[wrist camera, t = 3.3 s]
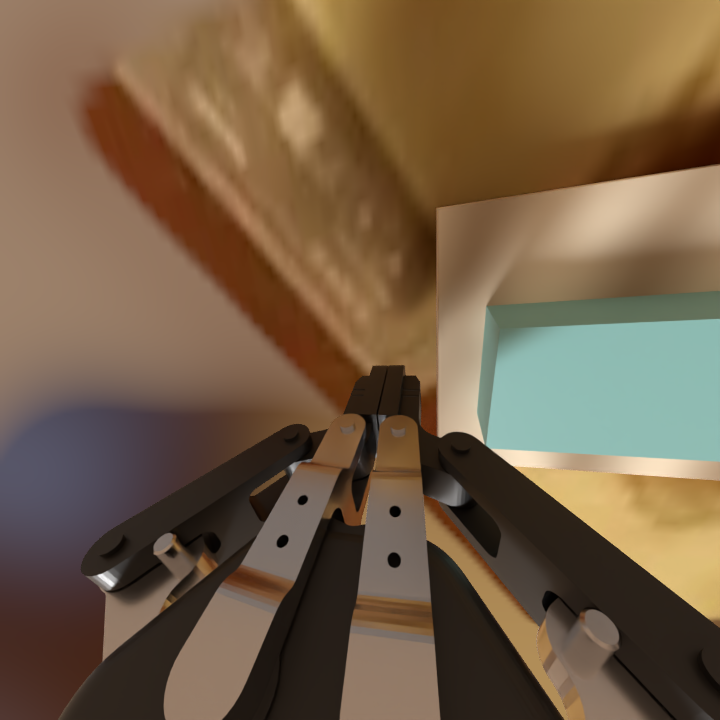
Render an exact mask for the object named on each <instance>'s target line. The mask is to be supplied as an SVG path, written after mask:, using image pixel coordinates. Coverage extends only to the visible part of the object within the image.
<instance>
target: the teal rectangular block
mask: <svg viewBox="0 0 720 720" xmlns="http://www.w3.org/2000/svg"><path fill="white" fill-rule="evenodd" d="M477 415H478V419H479V424H480V428H481V432H482V436H483V440H484V444H485V445H486V446H487V447H489V448H490V449H505V450H522V451H540V452H558V453H575V454H593V455H610V456H628V457H646V458H663V459H681V460H698V461H716V462H720V291H709V292H694V293H678V294H663V295H648V296H632V297H617V298H602V299H586V300H571V301H555V302H540V303H525V304H509V305H494V306H486V315H485V326H484V337H483V349H482V360H481V371H480V382H479V394H478V405H477Z"/></svg>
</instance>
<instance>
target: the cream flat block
mask: <svg viewBox="0 0 720 720" xmlns="http://www.w3.org/2000/svg"><path fill="white" fill-rule="evenodd" d="M709 291H720V164H715V165H709V166H702V167H696V168H689V169H683V170H676V171H670V172H664V173H657V174H651V175H644V176H638V177H632V178H625V179H619V180H612V181H606V182H599V183H593V184H587V185H580V186H574V187H567V188H561V189H554V190H548V191H542V192H535V193H529V194H522V195H516V196H509V197H503V198H497V199H490V200H484V201H477V202H471V203H464V204H458V205H452V206H445V207H439V208H436V321H437V437H440V438H441V437H443V436H444V435H445V434H447V433H451V432H464V433H468V434H470V435H472V436H474V437H476V438H477V439H478V440H480V441H481V442H482V443H483V444H484V440H483V436H482V432H481V428H480V424H479V419H478V415H477V405H478V394H479V382H480V371H481V360H482V349H483V337H484V326H485V315H486V306H494V305H509V304H525V303H540V302H555V301H571V300H586V299H602V298H617V297H632V296H648V295H663V294H678V293H694V292H709ZM491 450H492V451H494V452H495V453H496V454H497V455H499V456H500V457H501V458H503V459H504V460H505V461H506V462H508V463H509V464H510V465H512V466H521V467H535V468H549V469H564V470H578V471H592V472H606V473H621V474H635V475H649V476H663V477H677V478H692V479H706V480H720V462H716V461H698V460H681V459H663V458H646V457H628V456H610V455H593V454H575V453H558V452H540V451H522V450H505V449H491Z"/></svg>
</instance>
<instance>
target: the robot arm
mask: <svg viewBox="0 0 720 720" xmlns="http://www.w3.org/2000/svg"><path fill="white" fill-rule="evenodd" d="M375 458H376V468H375V470H373V466H374V461H375ZM282 470H284V471H285V473H286V475H285V476H283V477H282V478H280V479H279V480H277V481H276V482H275V483H273V484H272V485H270V486H269V487H267V488H266V489H264V490H263V491H261V492H260V493H258V494H257V495H255V496H250V494H251V493H252V491H253V490H254V489H255V488H257V487H259V486H260V485H262V484H263V483H265V482H266V481H268V480H269V479H270V478H272V477H274V476H275V475H277V474H278V473H279V472H281V471H282ZM368 493H369V499H368V507H367V517H366V524H365V525H361V519H362V515H363V511H364V508H365V504H366V501H367V497H368ZM423 494H424V495H426V496H429V497H431V498H433V499H436V500H438V501H439V504H440V506H441V507H442V509H443V510H444V511H445V513H446V514H447V515H448V516H449V518H450V519H451V520H452V521H453V522H454V524H455V525H456V526H457V527H458V528H459V530H460V531H461V532H462V533H463V535H464V536H465V537H466V538H467V539H468V541H469V542H470V543H471V544H472V546H473V547H474V548H475V549H476V550H477V552H478V553H479V554H480V555H481V556H482V558H483V559H484V560H485V561H486V563H487V564H488V565H489V566H490V567H491V569H492V570H493V571H494V572H495V574H496V575H497V576H498V577H499V578H500V580H501V581H502V582H503V583H504V584H505V586H506V587H507V588H508V589H509V591H510V592H511V593H512V594H513V595H514V597H515V598H516V599H517V600H518V602H519V603H520V604H521V605H522V606H523V608H524V609H525V610H526V611H527V612H528V614H529V615H530V616H531V617H532V619H533V620H534V621H535V622H536V623H537V625H538V626H539V630H538V633H537V649H538V654H539V658H540V660H541V663H542V665H543V668H544V670H545V672H546V674H547V675H548V677H549V678H550V680H551V681H552V683H553V685H554V686H555V688H556V690H557V691H558V693H559V695H560V697H561V699H562V701H563V704H564V707H565V709H566V712H567V716H568V719H569V720H720V628H719V627H718V626H716V625H715V624H714V623H713V622H711V621H710V620H709V619H707V618H706V617H705V616H704V615H702V614H701V613H700V612H698V611H697V610H696V609H695V608H693V607H692V606H691V605H689V604H688V603H687V602H686V601H684V600H683V599H682V598H681V597H679V596H678V595H677V594H675V593H674V592H673V591H672V590H670V589H669V588H668V587H666V586H665V585H664V584H663V583H661V582H660V581H659V580H657V579H656V578H655V577H654V576H652V575H651V574H650V573H649V572H647V571H646V570H645V569H643V568H642V567H641V566H640V565H638V564H637V563H636V562H634V561H633V560H632V559H631V558H629V557H628V556H627V555H625V554H624V553H623V552H622V551H620V550H619V549H618V548H617V547H615V546H614V545H613V544H611V543H610V542H609V541H608V540H606V539H605V538H604V537H602V536H601V535H600V534H599V533H597V532H596V531H595V530H593V529H592V528H591V527H590V526H588V525H587V524H586V523H585V522H583V521H582V520H581V519H579V518H578V517H577V516H576V515H574V514H573V513H572V512H570V511H569V510H568V509H567V508H565V507H564V506H563V505H561V504H560V503H559V502H558V501H556V500H555V499H554V498H553V497H551V496H550V495H549V494H547V493H546V492H545V491H544V490H542V489H541V488H540V487H538V486H537V485H536V484H535V483H533V482H532V481H531V480H529V479H528V478H527V477H526V476H524V475H523V474H522V473H521V472H519V471H518V470H517V469H515V468H514V467H513V466H512V465H510V464H509V463H508V462H506V461H505V460H504V459H503V458H501V457H500V456H499V455H497V454H496V453H495V452H494V451H492V450H491V449H490V448H489V447H487V446H486V445H485V444H483V443H482V442H481V441H480V440H478V439H477V438H476V437H474V436H472V435H470V434H468V433H464V432H451V433H447V434H445V435H444V436H443V437H441V438H440V437H437V436H434V435H431V434H429V433H428V432H426V431H425V430H424V429H423V428H422V427H421V393H420V381H419V380H418V378H417V377H416V376H406V375H405V366H404V365H390V366H373V367H372V370H371V373H370V376H362V377H361V378H360V379H359V380H358V381H356V383H355V386H354V388H353V391H352V393H351V396H350V399H349V401H348V404H347V406H346V409H345V411H344V414H343V415H341V416H339V417H337V418H336V419H335V420H334V421H333V422H332V423H331V425H330V427H329V429H326V430H323V431H318V432H313V433H310V431H309V429H308V428H307V427H306V426H305V425H302V424H294V425H290V426H287V427H285V428H283V429H281V430H280V431H278V432H276V433H274V434H273V435H271V436H270V437H268V438H266V439H264V440H263V441H261V442H259V443H258V444H256V445H254V446H253V447H251V448H249V449H247V450H246V451H244V452H242V453H241V454H239V455H237V456H236V457H234V458H232V459H230V460H229V461H227V462H225V463H224V464H222V465H220V466H218V467H217V468H215V469H213V470H212V471H210V472H208V473H206V474H205V475H203V476H201V477H200V478H198V479H196V480H195V481H193V482H191V483H189V484H188V485H186V486H184V487H183V488H181V489H179V490H178V491H176V492H174V493H172V494H171V495H169V496H167V497H166V498H164V499H162V500H160V501H159V502H157V503H155V504H154V505H152V506H150V507H149V508H147V509H145V510H144V511H142V512H140V513H139V514H137V515H135V516H133V517H132V518H130V519H128V520H126V521H125V522H123V523H121V524H120V525H118V526H116V527H115V528H113V529H111V530H110V531H108V532H107V533H106V534H104V535H103V536H102V537H101V538H100V539H99V540H98V541H97V542H96V543H95V544H94V545H93V546H92V547H91V548H90V550H89V551H88V552H87V554H86V555H85V557H84V559H83V561H82V565H81V572H82V573H83V574H84V575H85V576H86V577H88V578H89V579H90V580H92V581H93V582H94V583H95V584H97V585H98V586H99V587H100V589H101V590H102V591H103V592H104V593H105V594H106V608H105V628H104V646H103V662H102V663H101V664H100V665H99V666H98V667H97V668H96V669H95V670H94V671H93V672H92V674H91V675H90V676H89V677H88V678H87V679H86V680H85V682H84V683H83V684H82V686H81V687H80V688H79V689H78V691H77V692H76V693H75V695H74V696H73V698H72V699H71V700H70V702H69V703H68V705H67V706H66V708H65V709H64V711H63V713H62V715H61V716H60V718H59V719H58V720H564V719H563V717H562V716H561V714H560V713H559V712H558V710H557V708H556V707H555V706H554V704H553V703H552V701H551V700H550V698H549V697H548V695H547V694H546V692H545V691H544V689H543V688H542V687H541V685H540V684H539V682H538V681H537V679H536V678H535V676H534V675H533V674H532V672H531V671H530V669H529V668H528V666H527V665H526V663H525V662H524V660H523V659H522V657H521V656H520V655H519V653H518V652H517V650H516V649H515V647H514V646H513V644H512V643H511V641H510V640H509V638H508V637H507V636H506V634H505V633H504V631H503V630H502V628H501V627H500V625H499V624H498V623H497V621H496V620H495V618H494V617H493V615H492V614H491V612H490V611H489V609H488V608H487V607H486V605H485V604H484V602H483V601H482V599H481V598H480V596H479V595H478V593H477V592H476V590H475V589H474V588H473V586H472V585H471V583H470V582H469V580H468V579H467V577H466V576H465V574H464V573H463V572H462V570H461V569H460V568H459V567H458V565H457V564H456V563H455V562H454V561H453V560H452V558H450V557H449V556H448V555H447V554H446V553H445V552H444V551H443V550H441V549H440V548H439V547H438V546H436V545H434V544H433V543H431V542H429V541H427V540H426V530H425V529H426V528H425V514H424V501H423Z"/></svg>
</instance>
